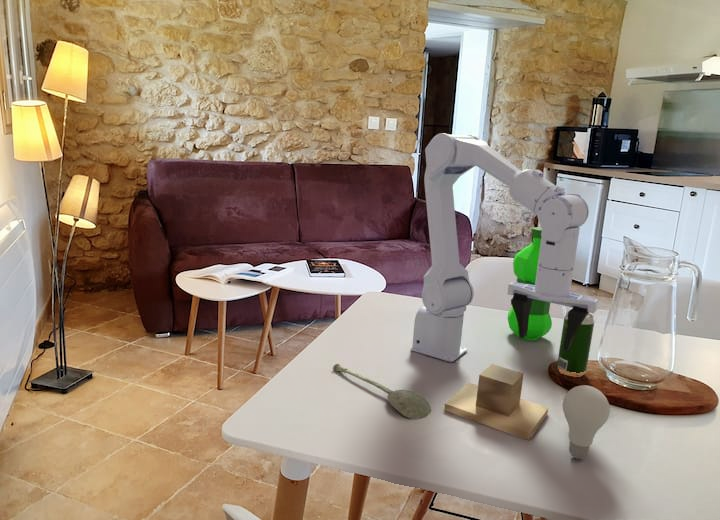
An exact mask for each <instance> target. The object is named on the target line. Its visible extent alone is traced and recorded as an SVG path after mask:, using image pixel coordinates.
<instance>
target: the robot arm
mask: <svg viewBox="0 0 720 520" xmlns="http://www.w3.org/2000/svg"><path fill="white" fill-rule="evenodd" d="M424 152H425V162H426V163H425V164H426V167H425V171H424V177H423V178H424V180H423V181H424V192H425V202H426V203H425V205H426V212H427V223H428V225H427V227H428V235H429V248H430V257H431V267H430V268H429V269H428V270H427V272H426V273H425V274H424V276H423V277H422V278H423V288H422V291H421V301H422V304H423V305H422V306H421V307H419V309H418V310H417V311H416V314H415V317H414V323H413V324H414V325H413V334H412V335H413V336H412V346H411V347H410V351H413V352H416V353H419V354H423V355H426V356H429V357H432V358H435V359H438V360H443V361H446V362H449V363H453V362H454V361H456V360H457V359H458V358H459V357H461V356H462V355H463V354H465V353H467V351H468V348H466V347H462V346H461V343H462V335H463V325H464V317H465V312H466V311H467V306H469V305H470V304H471V303H472V301H473V299H474V295H475V294H474V287H473V284H472V283H471V281H470V276H469V272H468V270H467V269H466V268H465V266H463V265H462V263H460V255H459V253H460V252H459V242H458V233H457V232H458V231H457V221H456V218H457V217H456V211H455V210H456V209H455V199H454V189H453V187H454V185H455V183H456V182H457V181H458V179H460V177H461V176H463V175H464V174H466V173H467V172H468V171H470V170H472V169H473V168H474V167H477V168H479V169H480V170H482V171H484V172H485V173H487V174H488V175H490V176H492V177H493V178H495V179H496V180H498V181H499V182H501V183H503V184H504V185H505V186H507V187H508V192H509V195H510V197H511V198H512V199H514V200H515V201H516V202H517V203H519V204H520V205H522V206H523V207H525V208H526V209H527V210H529V211H530V212H531V213H533V214H534V215H535V216H537V220H538V223H539V224H540V227H541V228H542V232H541V236H542V238H541V245H540V252H539V260H538V267H537V274H536V281H535V285H530V284H522V283H516V282H517V281H515V282H514V281H512V282H510V283H509V284H508V286H507V295H509V296H512V298H511V299H510V305H511V308H512V307H513V309H514V312H515V315H516V318H517V322H518V328H519V337H518V338H520V339H521V338H524V337H525V336H526V335H527V331H528V321H529V314H530V309H531V305H532V301H533V299H536V300H541V301H545V302H550V304H555V305H558V306H559V305H560V306H565V307H569V308H571V309H570V310H568V311H569V312H568V323H567V333H566V337H565V342H564V349H565V350H568V349H569V348H570V347H571V344H572V341H573V338H574V336H575V334H576V332H577V330H578V328H579V327H580V325H581V323H582V322H583V320H584V319H585V317H586V316H587V315H588V313H589V314H594V313H596V312H597V309H598V305H599V304H598V303H599V299H597V298H594V297H593V298H592V297H589V296H585V295H582V294H579V293H576V292H572V291H571V288H572V287H571V286H572V283H573V282H572V281H573V275H574V270H575V269H574V268H575V261H576V255H577V250H578V244H579V243H578V241H579V235H580V231H581V229H580V228H581V227H582V226H583V225H585V223H586V221H587V219H588V218H589V212H590V210H589V205H588V204H587V202H586V200H585V199H584V198H582V196H581V195H580V194H578V193H566V192H565V190H566V189H565V188H564V186H562V185H556V184H554V183H553V182H551V181H549V179H547V178H545V177H543V175H544V172H543V171H541V170H540V169H531V168H529V169H523V170H521V169H520V168H518V167H516V165H514V164H513V163H512V162H510V161H509V160H508V159H506V158H505V157H504V156H502V154H500V153H499V152H497V151H496V150H495V149H493V148H492V147H491V146H489V145H488V143H487V141H485V140H482V139H480V138H479V137H478V136H476V135H473V134H466V135H464V134H461V135H460V134H449V133H445V132H444V133H443V132H442V133H441V132H440V133H437V134H436V135H435V136H433V138H432V139H431V140H430V141H429V143H428V144H427V146H426V147H425V149H424Z"/></svg>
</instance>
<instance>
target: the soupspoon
mask: <svg viewBox="0 0 720 520" xmlns="http://www.w3.org/2000/svg"><path fill="white" fill-rule="evenodd" d="M332 371H333V372H338V373H339V372H341V373H344V374H348V375H350V376H352V377H355V378H357V379H359V380H361V381H363V382H366V383H367V384H370V385H372V386H374V387H375V388H378V389H380V390H381V391H383V392H384V393H386V394H387V400H388V402H389V404H390V405H391V406H392V408H394V409H395V410H396V411H398V412H399V413H400V414H401V415H402V416H404V417H405V418H408V419H410V420H413V421H415V420H420V419H421V420H422V419H424V418H427V417H428V416H429V415H430V414H431V412H432V407H431V405H430V404H429V402H428V400H427V399H425V398H424V396H422V395H421V394H419V393H417V392H415V391H413V390H410V389H409V390H408V389H398V390H397V389H396V390H391V389H390V388H388V387H386V386H385V385H383V384H380V383H379V382H377V381H375V380H372V379H369V378H367V377H365V376H362V375H360V374H358V373H356V372H353V371H351V370H349V369H348V368H344V367H343V366H342V365H340V363H335V364H334V365H333V367H332Z"/></svg>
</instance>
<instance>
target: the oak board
mask: <svg viewBox="0 0 720 520" xmlns="http://www.w3.org/2000/svg"><path fill="white" fill-rule="evenodd" d="M477 390H478V384H476V383H472V382H468V383H466V385H465V386H463V387H462V388H461V389H460V390H459V391H457V393H456V394H455V395H453V396H452V397H450V399H449V400H448V401H446V402H445V403H444V410H443V411H445V412H448V413H450V414H454V415H456V416H460V417H462V418H465V419H468V420H471V421H473V422H475V423H479V424H482V425H484V426H487V427H490V428H493V429H494V430H495V429H496V430H498V431H501V432H503V433H506V434H507V433H508V434H509V435H513V436H515V437H519V438H521V439H524V440H526V441H530V440H531V438H532V437H533V436H534V434H535V433H536V431H537V430H538V428H539V427H540V426H541V424H542V423H543V421H544V420H545V419H546V417H547V415H548V413H549V407H548V406H544V405H541V404H539V403H535V402H532V401H528V400H526V399H522V398H520V404H519V405H518V406H517V407H516V409H515V410H514V411H513V412H512V413H511V414H510V416H509V417H507V416H504V415H501V414H498V413H496V412H493V411H490V410H487V409H484V408H481V407H478V406H476V399H477Z"/></svg>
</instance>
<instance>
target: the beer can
mask: <svg viewBox="0 0 720 520" xmlns="http://www.w3.org/2000/svg"><path fill="white" fill-rule="evenodd" d="M569 311H570V310H567V311H566V313H565V315H564V317H563V325H562V330H561V336H560V337H561V338H560V344H559V349H558V355H557V364H556V367H557V366H558V367H559V368H560V369H562V370H565V371H569V372H576V373H580V372H584V371H586V372H587V369H588V362H589V356H590V352H591V351H590V350H591V345H592V344H591V343H592V339H593V338H592V337H593V333H594V327H595V326H594V325H595V320H594V318H595V316H594V314H592V313H590V312H589V313H588V315H587V316H586V317H585V319H584V320H583V322H582V323H581V325H580V327H579V328H578V330H577V332H576V334H575V336H574V338H573V341H572V344H571V347H570V348H569V349H568V350H565V349H564V342H565V337H566V333H567V323H568V312H569Z"/></svg>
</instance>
